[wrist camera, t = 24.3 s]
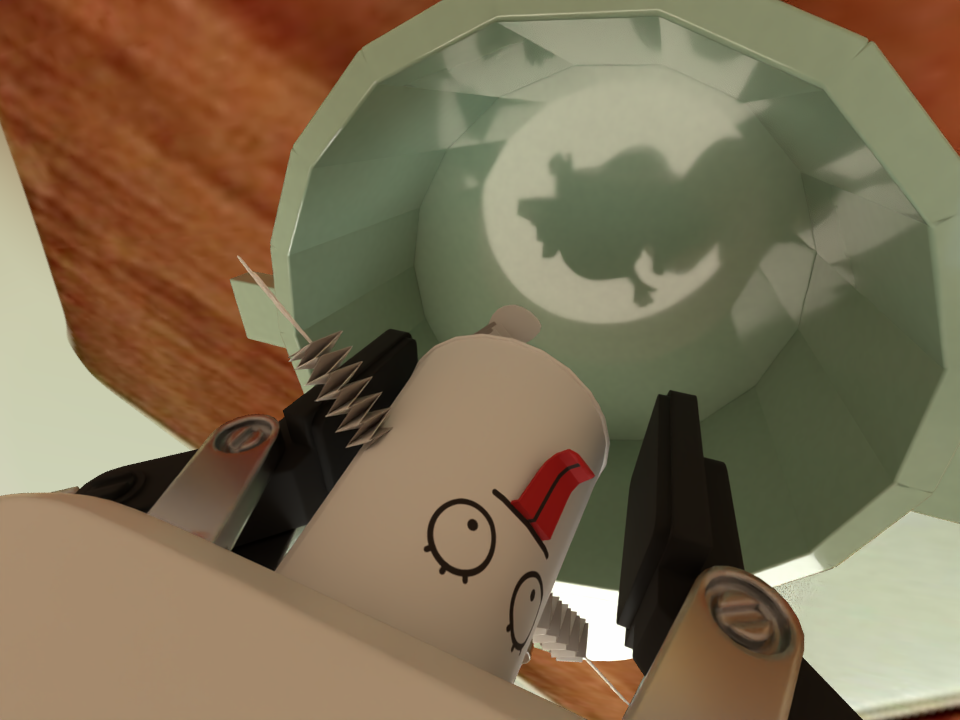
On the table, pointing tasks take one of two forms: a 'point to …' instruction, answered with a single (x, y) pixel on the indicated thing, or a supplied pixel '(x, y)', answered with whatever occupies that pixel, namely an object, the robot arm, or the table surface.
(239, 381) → the table surface
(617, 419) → the pot
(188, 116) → the table surface
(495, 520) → the toy figure
